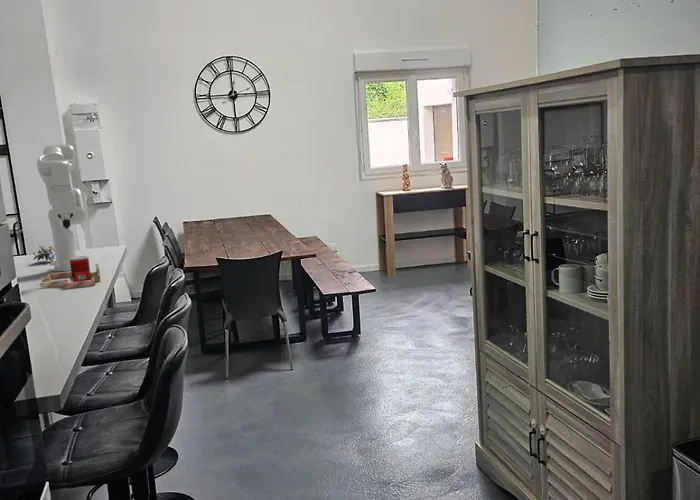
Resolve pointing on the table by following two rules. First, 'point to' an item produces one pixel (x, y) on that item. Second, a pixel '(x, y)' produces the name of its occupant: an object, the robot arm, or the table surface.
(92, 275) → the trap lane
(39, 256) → the passion flower
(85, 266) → the canned food
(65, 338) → the table surface
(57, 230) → the robot arm
